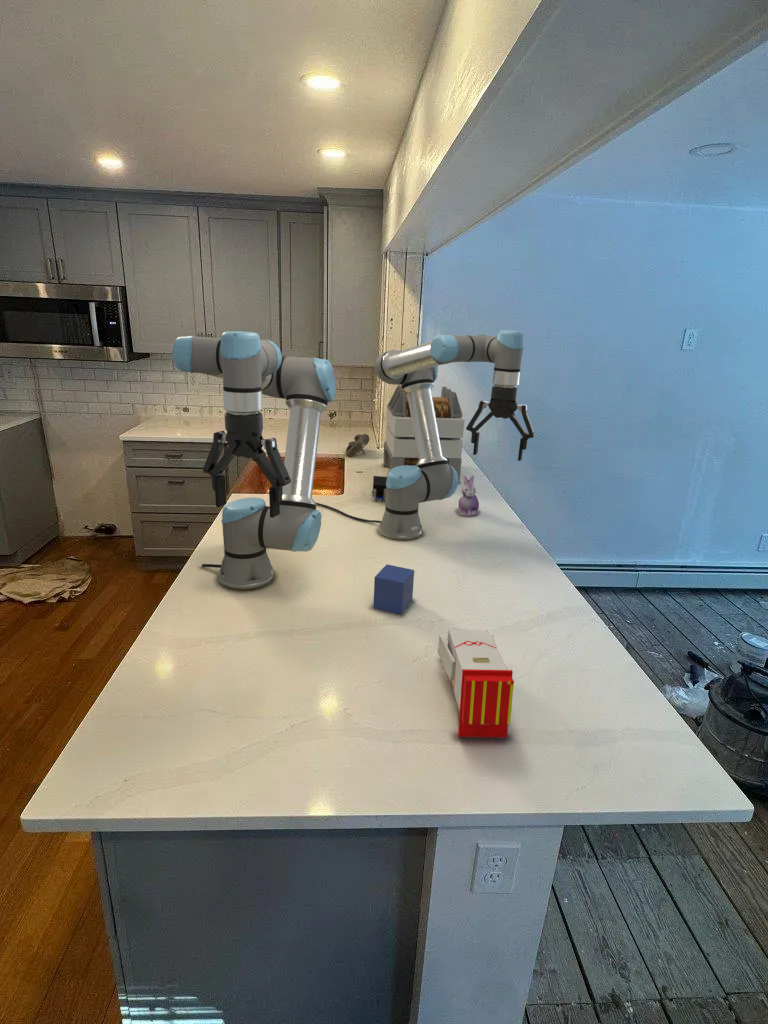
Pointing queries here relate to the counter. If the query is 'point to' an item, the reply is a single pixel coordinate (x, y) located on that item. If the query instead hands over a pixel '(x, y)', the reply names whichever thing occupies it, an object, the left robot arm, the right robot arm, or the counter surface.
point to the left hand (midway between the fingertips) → (247, 510)
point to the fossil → (357, 445)
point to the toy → (478, 682)
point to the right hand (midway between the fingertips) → (497, 456)
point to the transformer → (401, 432)
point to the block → (393, 589)
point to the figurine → (468, 498)
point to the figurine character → (379, 487)
